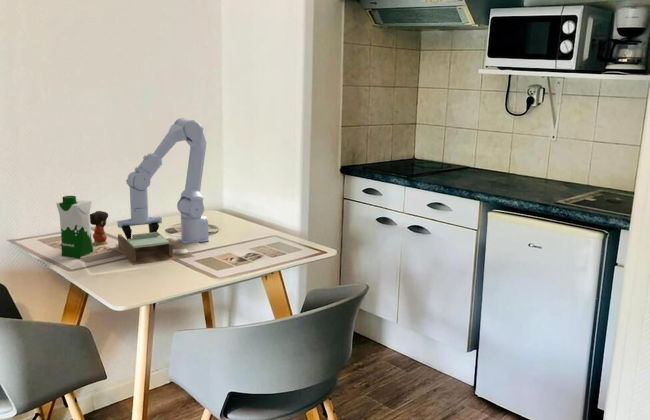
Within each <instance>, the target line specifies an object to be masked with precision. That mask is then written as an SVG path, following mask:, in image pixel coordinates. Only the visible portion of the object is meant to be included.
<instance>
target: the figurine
mask: <svg viewBox="0 0 650 420" xmlns="http://www.w3.org/2000/svg"><path fill="white" fill-rule="evenodd" d="M108 218H109V213H108V212H106V211H102V210H97V211H95V212H92V213H90V225H92V226H95V227H94V230H93V232H94V233H93V234H92V238H93V244H94V245H95V246H104V245H107V244H108V242H107V237H108V236H107V235H106V231H105V229H104V228H105V227H106V226H107V219H108Z"/></svg>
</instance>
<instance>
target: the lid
mask: <svg viewBox="0 0 650 420" xmlns="http://www.w3.org/2000/svg"><path fill="white" fill-rule="evenodd" d="M157 232H158V231H157ZM157 232H152V233H149V232H145V233H144V232H143V233H136V234H131V239H127V238H126V240H127V242H128V243H129V244H130V245H131V246H132V247H133V248H139V247H147V246H155V245H163V244H169V241H168V240H167V239H168V238H166V237H164V236H163V235H161V234H160V235H158V236H157Z"/></svg>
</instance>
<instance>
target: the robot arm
mask: <svg viewBox="0 0 650 420" xmlns="http://www.w3.org/2000/svg"><path fill="white" fill-rule="evenodd" d="M184 141H185V142H186V143H187V145H188V146H189V147H190V148H189V154H188V155H189V156H188V163H187V169H186V170H187V171H186V179H185V186H184V190H183V191H182V192H181V193H180V198H179V199H178V201H177V204H176V206H177V210H178V212H179V213H180V231H181V232H180V236H179V237H177V240H180V241H181V242H182V243H183V244H191V243H201V242H202V243H203V242H209V241H210V239H209V219H208V217H207V216H206V215H203V214H204V213H205V206H204V205H205V204H204V197H203V194H202V193H201V187H202V181H203V180H202V179H203V174H204V165H205V156H206V149H207V141H206V137H205V133H204V127H203V126H202V125H201V123H200V122H199V121H198V120H196V119H186V118H181V117H180V118H177V119H176V120H175V121H174V122H173V124H172V125H171V126H170V128H169V130H168V132H167V133H166V134H165V136H164V138H163V139H162V140H161V142H160V143H159V145H158V146H157V147H156V149H155V150H154V152H152V153H151V152H150V153H148V154H147V155H146V154H145V155H144V156H143V157H142V160H141V162H140V164H139V165H138V166H137V167H135V168H134V171H132V172H130V173H129V174H128V175H127V179H125V182H126V184H127V185H128V187H129V201H130V202H129V205H130V207H129V208H130V218H128V219H122V220H117V222H116V223H117V227H118V228H121V229H122V232H123V234H124V236H125V239H126V240H127V239H132V228H131V227H135V226H143V225H147V226H148V231H149V232H148V233H152V232H158V230H159V228H160V225H159V224H163V222H162V221H163V218H162V217H161V216H152V217H151V216H149V199H148V198H149V197H148V188H149V187H150V185H151V179H152V178H153V177H154V176H155V174H156V173H157V171H158V170H159V169H160V168H161V166H162V165H163V158H164V157H165V156H166V155H167V154H168V153H169V151H170V150H171V149H172V148H173V147H174V146H175V145H176V144H177V143H179V142H184Z"/></svg>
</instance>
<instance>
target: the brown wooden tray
mask: <svg viewBox="0 0 650 420" xmlns="http://www.w3.org/2000/svg"><path fill="white" fill-rule="evenodd" d="M158 235H161V234H160V233H159V232H158V231H157V236H158ZM166 239H167V240H168V241H169V244H163V245H155V246H147V247H139V248H133V247H132V246H131V245H130V244H129V243H128V242H127V238H126V237H124V236H123V235H122V234H121V233H119V234H117V241H118V242H117V244H115V247H116V248H118V250H119V251H120V252H121V254H122V255H124V257H125V258H126V259H127V260H128V261H129V262H130V264H131V265H133V266H137V265H142V264H150V263H151V264H152V263H157V262H164V261H166V262H167V261H171V260H172V261H173V260H180V259H187V258H193V257H194V258H195V255H193V254H192V253H191V252H190V251H189V250H188V249H186V248H185V247H183V245H181V244H180V243H178V242H177V241H176V240H174V239H173V238H172V237H171V238H166Z"/></svg>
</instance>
